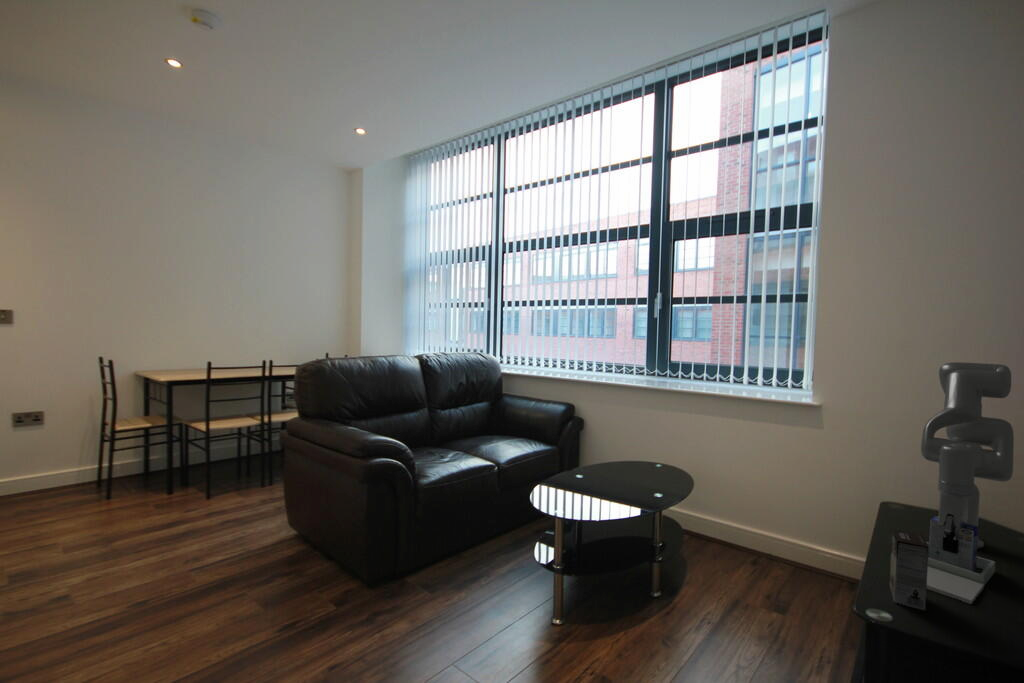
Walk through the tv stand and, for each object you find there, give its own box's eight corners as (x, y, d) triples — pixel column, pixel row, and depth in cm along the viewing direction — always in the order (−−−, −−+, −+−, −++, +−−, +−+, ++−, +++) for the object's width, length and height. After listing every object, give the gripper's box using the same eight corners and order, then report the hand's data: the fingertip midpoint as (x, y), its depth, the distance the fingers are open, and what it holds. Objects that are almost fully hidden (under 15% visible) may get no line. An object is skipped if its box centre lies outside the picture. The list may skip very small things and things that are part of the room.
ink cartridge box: (977, 567, 137) (979, 518, 137) (973, 573, 134) (975, 523, 133) (932, 553, 145) (934, 507, 144) (927, 559, 142) (929, 511, 141)
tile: (917, 566, 139) (917, 562, 139) (983, 587, 128) (984, 584, 128) (901, 580, 131) (902, 576, 131) (971, 604, 119) (971, 600, 119)
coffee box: (888, 587, 127) (891, 527, 127) (919, 594, 123) (922, 533, 123) (893, 603, 119) (896, 539, 119) (927, 611, 116) (930, 546, 115)
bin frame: (924, 550, 149) (925, 541, 149) (994, 571, 137) (995, 561, 137) (910, 563, 141) (910, 553, 141) (983, 586, 128) (983, 575, 128)
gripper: (946, 478, 147) (944, 536, 147) (930, 490, 137) (927, 551, 137) (980, 485, 141) (977, 545, 141) (965, 498, 130) (962, 562, 131)
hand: (952, 548), depth 139 cm, fingers closed on ink cartridge box, 5 cm apart
